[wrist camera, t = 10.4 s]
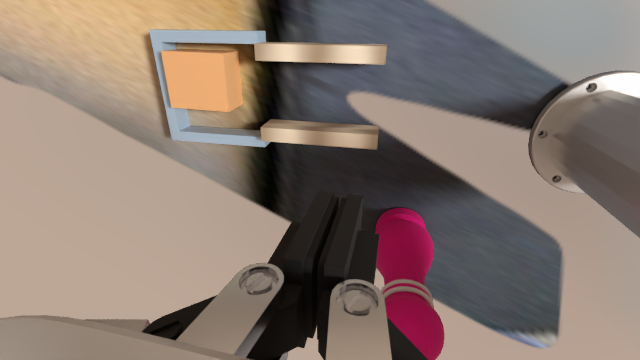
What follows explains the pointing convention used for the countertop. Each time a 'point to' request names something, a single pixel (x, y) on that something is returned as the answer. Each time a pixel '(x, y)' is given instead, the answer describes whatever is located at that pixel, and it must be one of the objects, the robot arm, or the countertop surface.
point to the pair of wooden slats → (318, 130)
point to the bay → (179, 116)
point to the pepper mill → (408, 278)
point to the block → (203, 79)
